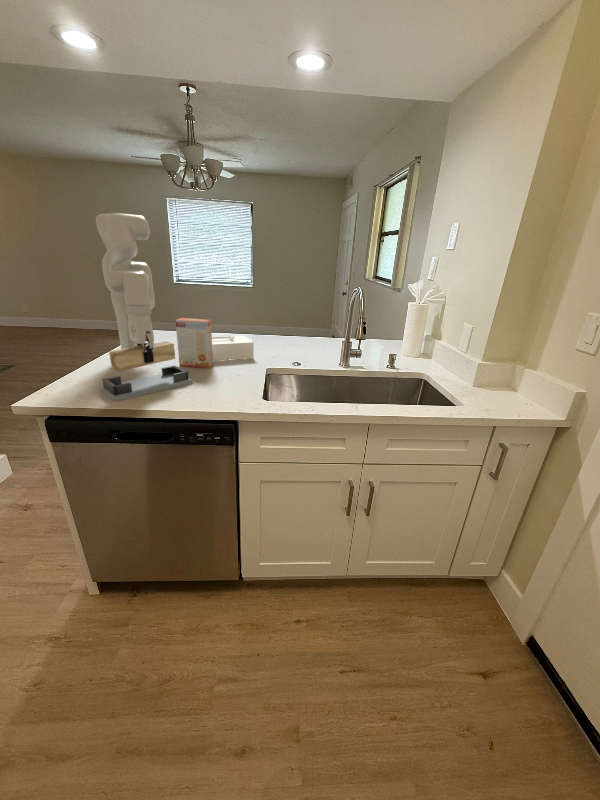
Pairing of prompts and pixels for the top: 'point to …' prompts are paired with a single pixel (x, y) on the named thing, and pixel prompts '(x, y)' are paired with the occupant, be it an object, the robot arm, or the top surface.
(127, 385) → the rail base
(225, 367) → the top surface
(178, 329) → the cracker box
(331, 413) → the top surface
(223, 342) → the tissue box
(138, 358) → the slat
